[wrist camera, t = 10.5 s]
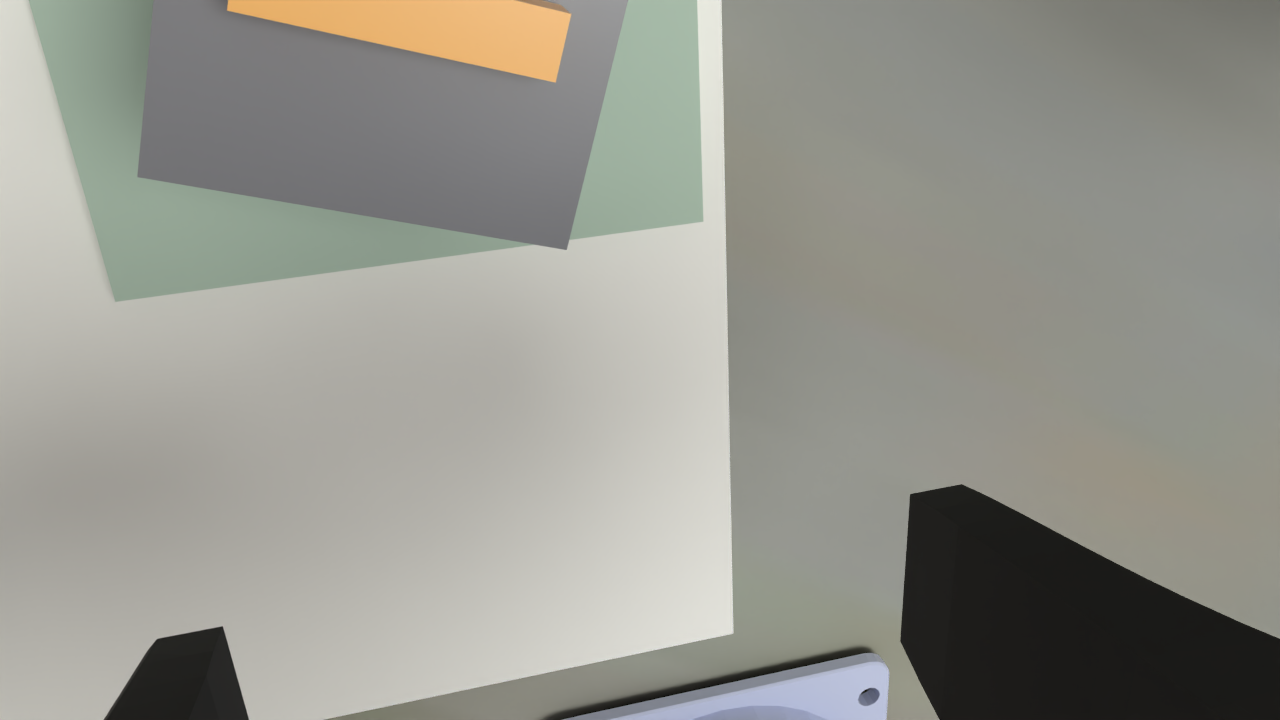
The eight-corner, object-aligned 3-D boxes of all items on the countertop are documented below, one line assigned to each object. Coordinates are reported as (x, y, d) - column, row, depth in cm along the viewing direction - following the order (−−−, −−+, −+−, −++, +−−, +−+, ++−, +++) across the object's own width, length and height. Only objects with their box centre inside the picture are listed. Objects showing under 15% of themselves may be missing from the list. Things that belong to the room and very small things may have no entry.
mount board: (711, 588, 24) (817, 805, 19) (-355, 803, 20) (-592, 1150, 15) (678, -516, 16) (857, -679, 10) (-1184, -506, 12) (-2415, -760, 6)
